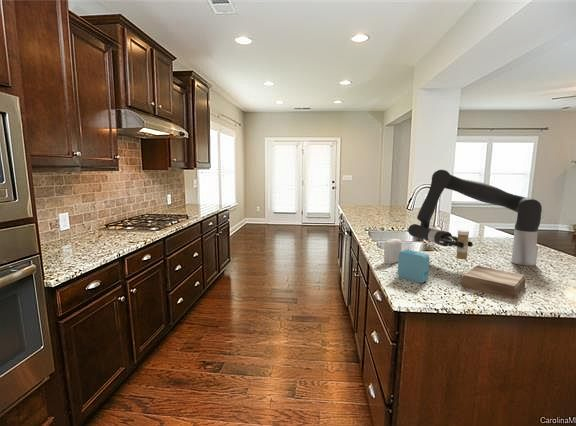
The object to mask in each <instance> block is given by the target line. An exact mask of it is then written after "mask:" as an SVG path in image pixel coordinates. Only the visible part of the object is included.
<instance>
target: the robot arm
mask: <svg viewBox="0 0 576 426" xmlns="http://www.w3.org/2000/svg"><path fill="white" fill-rule="evenodd" d="M445 189H447V190H451V191H454V192H456V193H459V194H462V195H464V196H466V197H467V198H468V197H469V198H471V199H474V200H476V201H479V202H481V203H486V204H490V205H495V206H498V207H499V206H500V207H503V208H506V209H509V210H510V211H513V212H516V213H517V216H516V222H515V224H514V230H513V231H514V233H513V242H512V251H511V252H512V253H511V263H512V264H514V265H520V266H526V267H527V266H528V267H529V266H530V267H531V266H532V267H533V266H535V265H536V266H537V261H538V260H537V259H538V251H539V246H538V245H537V241H538V235H539V234H538V231H539V227H540V224H541V220H542V213H543V212H542V210H543V208H542V204H541V202H539V200H537V199H535V198H531V197H526V196H522V195H517V194H513V193H509V192H507V191H505V190H503V189H501V188H498V187H496V186H493V185H491V184H487V183H484V182H480V181H477V180H472V179H471V180H470V179H465V178H460V177H458V176H455V175H453V174H450V171H448V170H446V169H438V170H436V171H434V172H433V174H432V176H431V183H430V186H429V190H428V193H427V195H426V196H425V199H424V201H423V203H422V204H421V207H420V209H419V211H418V214H417V216H416V219H417V220H418V221H419V222H420V224H417V223H413V224H411V225H409V227H408V229H407V231H408V235H410V236H411V237H414V238H417V239H420V240H421V239H422V240H425V241H427V242H429V243H433V244H436V245H439V246H442V247H456V248H457V247H461V248H463V247H464V243H462V242H458V236H456V235H452V233H451V232H450V231H446V230H443V229H438V228H437V229H436V228H431V227H430V224H431V223H430V222H431V220H432V218H433V215H434V213H435V210H436V207H437V206H438V203H439V200H440V197H441V196H442V193H443V192H444V190H445ZM473 244H474V243H473V242H472V241H470V240H468V248H469V247H471V248H472V247H473Z"/></svg>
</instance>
